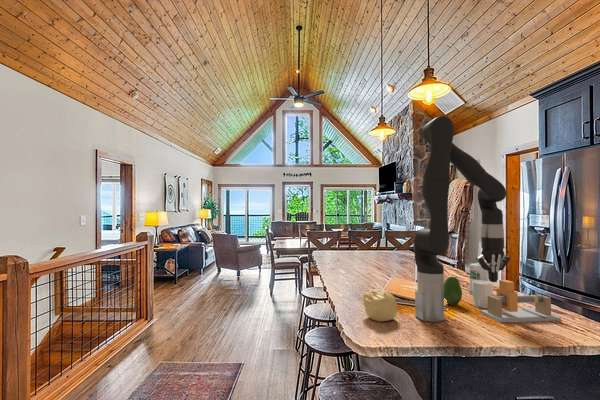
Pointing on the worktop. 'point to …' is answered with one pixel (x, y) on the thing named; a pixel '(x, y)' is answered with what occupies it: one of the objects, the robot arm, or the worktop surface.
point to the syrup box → (477, 274)
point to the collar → (508, 295)
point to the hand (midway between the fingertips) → (493, 281)
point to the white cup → (481, 292)
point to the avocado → (452, 291)
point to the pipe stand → (523, 315)
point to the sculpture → (380, 305)
